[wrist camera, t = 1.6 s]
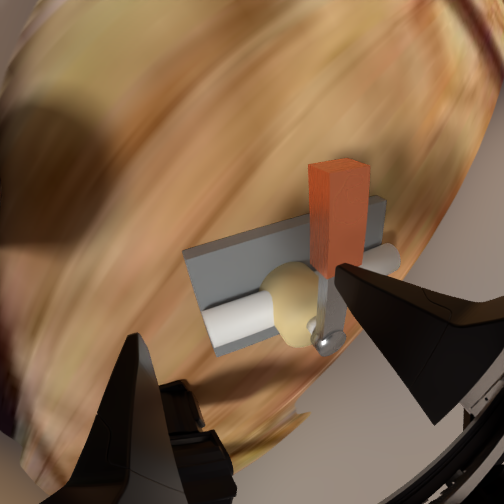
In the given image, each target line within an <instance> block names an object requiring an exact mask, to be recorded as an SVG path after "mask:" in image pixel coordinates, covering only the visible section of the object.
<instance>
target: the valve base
mask: <svg viewBox="0 0 504 504" xmlns="http://www.w3.org/2000/svg"><path fill="white" fill-rule="evenodd" d="M386 202H387V200H385V199H383V198H381V197H379V196H377V195H376V196H372V197H369V201H368V214H367V225H366V235H365V244H364V252H363V260H362V265H360V266H358V267H361V268H364V269H367V270H370V271H373V272H376V273H380V274H383V275H386V276H387V275H389V274H391V273H392V272H394V271H396V270H398V268H399V267H400V262H401V261H400V255H399V252H398V250H397V249H396V248H395V246H394V245H392V244H390V243H385V244H382V245H381V243H382V236H383V228H384V220H385V212H386ZM182 253H183V256H184V260H185V263H186V266H187V270H188V273H189V276H190V280H191V283H192V286H193V290H194V293H195V296H196V299H197V302H198V305H199V308H200V311H201V314H202V317H203V320H204V323H205V326H206V329H207V332H208V335H209V338H210V341H211V344H212V347H213V349H214V352H215V354H216V357H219V356H222V355H225V354H228V353H231V352H234V351H236V350H239V349H242V348H245V347H247V346H250V345H253V344H255V343H258V342H260V341H263V340H266V339H268V338H271V337H273V336H276V335H278V334H281V336H282V337H283V339H284V340H285V342H286V343H287V344H288V345H289V346H291V347H295V348H300V347H306V346H309V345H312V343H311V342H310V338H311V335H312V333H313V332H314V331H315V329H316V318H317V301H318V281H319V272H318V271H317V270H316V269H315V268H314V267H313V266H312V265H311V264H310V213H309V214H306V215H302V216H299V217H295V218H292V219H288V220H284V221H281V222H277V223H274V224H270V225H267V226H264V227H260V228H257V229H253V230H250V231H246V232H243V233H240V234H236V235H233V236H229V237H226V238H223V239H219V240H216V241H213V242H209V243H206V244H203V245H199V246H196V247H193V248H190V249H186V250H183V251H182Z"/></svg>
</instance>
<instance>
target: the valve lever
mask: <svg viewBox="0 0 504 504" xmlns="http://www.w3.org/2000/svg"><path fill="white" fill-rule="evenodd" d="M308 176H309V208H310V264H311V265H312V266H313V267H314V268H315V269H316V270H317V271H318V272H319V281H318V301H317V318H316V329H315V331H314V332H313V333H312V335H311V338H310V342H311V343H312V344H313V346H314V347H315V348H316V350H317V351H318V352H319V354H320V355H321V356H329V355H331V354H333V353H335V352H336V351H337V350H339V349H340V348H341V347H342V345H343V344H344V342H345V340H346V334H345V333H344V332H343V327H344V322H345V316H346V310H347V305H346V303H345V302H344V300H343V299H342V297H341V295H340V294H339V292H338V291H337V289H336V287H335V285H334V277H335V268H336V266H337V265H340V264H342V263H348V264H351V265H355V266H360V265H362V260H363V252H364V244H365V235H366V225H367V214H368V201H369V184H370V166H369V165H366V164H364V163H361V162H358V161H355V160H352V159H349V158H344V159H337V160H331V161H325V162H319V163H313V164H308Z"/></svg>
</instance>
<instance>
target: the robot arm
mask: <svg viewBox="0 0 504 504" xmlns="http://www.w3.org/2000/svg"><path fill="white" fill-rule="evenodd" d="M334 285H335V287H336V289H337V291H338V292H339V294H340V295H341V297H342V299H343V300H344V302H345V303H346V305H347V307H348V308H349V310H350V311H351V313H352V314H353V316H354V317H355V319H356V320H357V321H358V322H359V324H360V325H361V326H362V328H363V329H364V330H365V331H366V333H367V334H368V335H369V337H370V338H371V339H372V341H373V342H374V343H375V345H376V346H377V347H378V349H379V350H380V351H381V352H382V354H383V355H384V357H385V358H386V359H387V361H388V362H389V363H390V365H391V366H392V367H393V369H394V370H395V371H396V372H397V374H398V376H399V377H400V378H401V380H402V381H403V382H404V384H405V385H406V387H407V388H408V389H409V391H410V392H411V394H412V395H413V397H414V398H415V399H416V401H417V402H418V404H419V405H420V406H421V408H422V409H423V411H424V412H425V413H426V415H427V416H428V418H429V419H430V421H431V422H432V424H433V425H434V426H435V425H436V424H437V423H438V422H439V421H440V420H441V419H442V418H443V417H445V415H447V414H448V413H449V412H450V411H451V410H452V409H453V408H454V407H455V406H456V405H457V404H458V403H460V404H461V405H462V406H463V407H464V424H463V432H462V433H461V434H460V435H459V436H458V437H457V438H456V439H455V440H454V442H452V444H451V445H450V446H449V447H448V448H447V449H445V451H443V452H442V453H441V454H440V455H439V456H438V457H437V458H436V459H435V460H434V461H433V462H432V463H430V464H429V465H428V466H427V467H426V468H425V469H424V470H422V471H421V472H420V473H419V474H418V475H416V476H415V477H414V478H413V479H411V480H410V481H409V482H407V483H406V484H405V485H404V486H402V487H401V488H400V489H398V490H397V491H395V492H394V493H393V494H391V495H390V496H389V497H387V498H385V499H384V500H383V501H381V502H380V503H378V504H424V503H426V502H427V501H428V498H429V497H430V496H432V494H434V493H435V492H436V491H437V490H438V489H439V488H440V487H442V486H443V485H444V484H446V485H447V487H448V488H447V489H445V490H443V491H442V492H441V493H440V494H441V496H439V497H438V498H437V499H435V500H433V501H431V502H430V503H429V504H504V465H503V464H502V463H503V462H504V296H501V297H499V298H496V299H493V300H490V301H486V302H472V301H468V300H464V299H460V298H456V297H452V296H448V295H445V294H441V293H438V292H434V291H431V290H428V289H425V288H421V287H419V286H416V285H413V284H410V283H407V282H404V281H401V280H398V279H395V278H392V277H389V276H386V275H383V274H380V273H376V272H373V271H370V270H367V269H364V268H361V267H358V266H355V265H351V264H348V263H342V264H340V265H337V266H336V268H335V277H334ZM203 427H205V422H204V420H203V417H202V414H201V411H200V408H199V405H198V402H197V400H196V398H195V396H194V395H193V393H192V392H191V391H188V390H187V388H186V387H185V385H184V384H183V382H181V381H177V382H174V383H171V384H167V385H164V386H160V387H159V386H158V382H157V379H156V375H155V372H154V368H153V365H152V361H151V357H150V353H149V350H148V348H147V346H146V344H145V342H144V340H143V339H142V337H141V335H140V334H139V333H133V334H129V335H128V336H127V338H126V340H125V342H124V345H123V347H122V349H121V352H120V354H119V357H118V359H117V361H116V364H115V366H114V369H113V371H112V374H111V376H110V379H109V382H108V384H107V387H106V389H105V392H104V395H103V397H102V400H101V403H100V406H99V408H98V411H97V414H96V417H95V420H94V423H93V425H92V428H91V431H90V433H89V436H88V438H87V441H86V443H85V446H84V448H83V450H82V453H81V455H80V457H79V459H78V462H77V464H76V466H75V469H74V471H73V473H72V476H71V478H70V479H69V481H68V482H67V483H66V485H65V486H64V487H62V488H61V489H60V490H58V491H57V492H55V493H54V494H53V495H51V496H50V497H48V498H47V499H46V500H44V501H43V502H41V503H39V504H232V500H233V497H235V496H236V493H237V492H236V491H237V486H236V484H235V482H234V480H233V478H232V476H233V465H232V462H231V459H230V457H229V454H228V453H227V451H226V449H225V447H224V446H223V444H222V442H221V441H220V439H219V437H218V435H217V434H216V432H215V430H214V429H213V430H209V431H205V432H203V431H202V428H203Z"/></svg>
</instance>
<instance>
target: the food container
mask: <svg viewBox="0 0 504 504" xmlns="http://www.w3.org/2000/svg"><path fill="white" fill-rule="evenodd" d="M1 197H2V192H1V180H0V206H1Z"/></svg>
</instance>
